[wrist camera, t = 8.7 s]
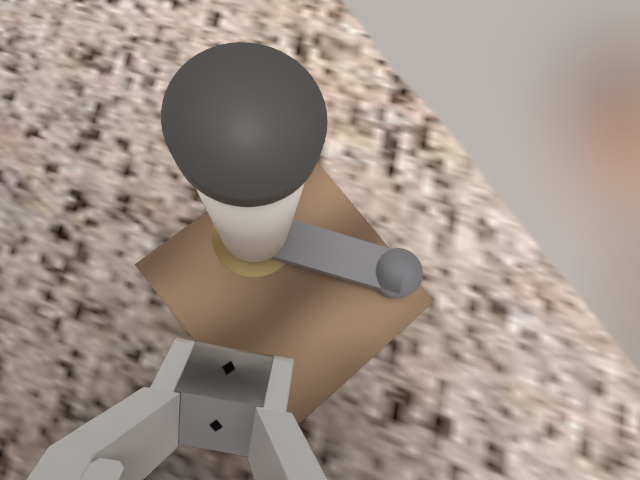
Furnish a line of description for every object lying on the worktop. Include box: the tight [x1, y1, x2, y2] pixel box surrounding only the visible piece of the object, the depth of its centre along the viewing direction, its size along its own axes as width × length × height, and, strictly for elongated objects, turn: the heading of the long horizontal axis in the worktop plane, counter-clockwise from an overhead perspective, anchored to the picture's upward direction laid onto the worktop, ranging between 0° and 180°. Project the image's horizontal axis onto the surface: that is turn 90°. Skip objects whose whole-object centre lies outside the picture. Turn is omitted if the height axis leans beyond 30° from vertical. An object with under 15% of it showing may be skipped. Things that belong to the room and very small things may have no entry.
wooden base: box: [135, 162, 434, 424], centre depth 25 cm, size 12×12×3 cm
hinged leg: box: [161, 42, 423, 298], centre depth 17 cm, size 11×4×14 cm, turn 74°
